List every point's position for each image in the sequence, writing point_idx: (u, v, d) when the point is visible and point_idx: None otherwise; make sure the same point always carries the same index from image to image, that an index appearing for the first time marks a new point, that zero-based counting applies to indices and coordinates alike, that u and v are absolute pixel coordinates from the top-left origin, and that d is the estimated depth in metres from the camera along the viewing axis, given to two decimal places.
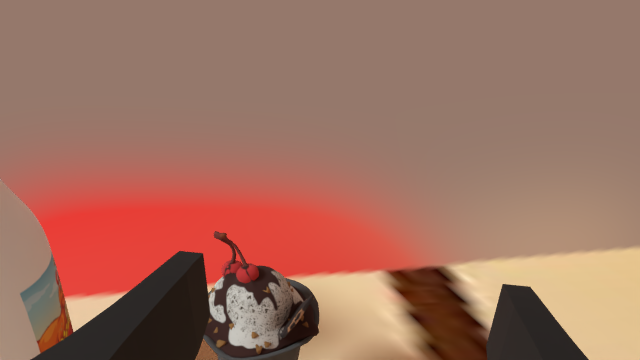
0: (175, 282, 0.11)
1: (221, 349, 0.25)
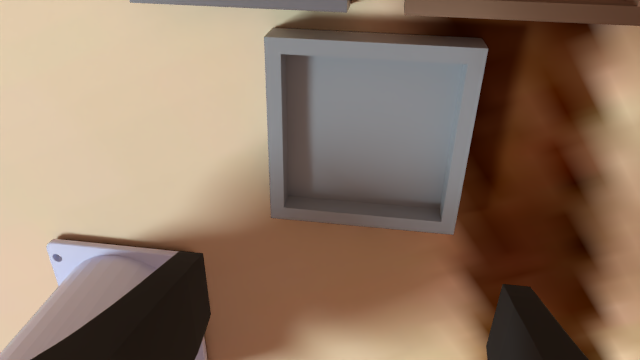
0: (175, 281, 0.11)
1: None
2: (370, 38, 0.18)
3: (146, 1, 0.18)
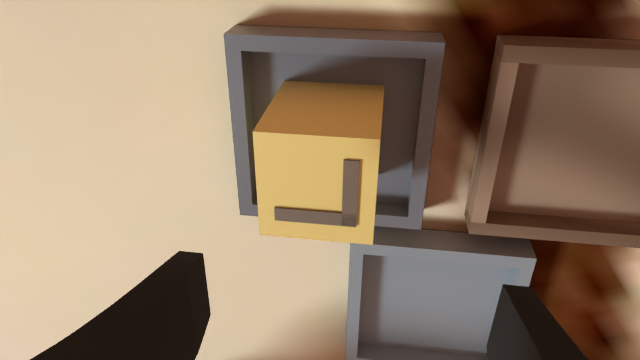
0: (175, 282, 0.11)
1: None
2: (437, 241, 0.22)
3: (254, 214, 0.22)
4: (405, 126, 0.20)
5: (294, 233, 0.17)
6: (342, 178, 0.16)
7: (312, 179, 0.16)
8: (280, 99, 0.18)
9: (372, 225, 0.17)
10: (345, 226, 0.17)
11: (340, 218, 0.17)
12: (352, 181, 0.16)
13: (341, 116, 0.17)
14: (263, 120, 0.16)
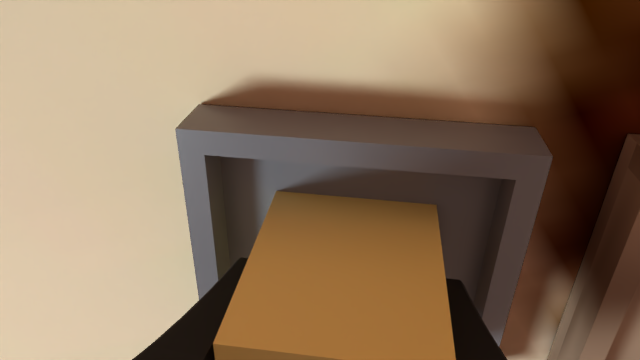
0: None
1: None
2: None
3: None
4: (465, 262, 0.13)
5: None
6: None
7: None
8: (268, 241, 0.11)
9: None
10: None
11: None
12: None
13: (375, 293, 0.09)
14: (236, 305, 0.09)
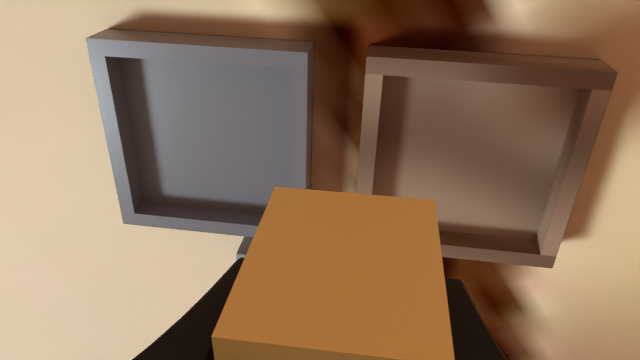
0: None
1: None
2: None
3: (137, 224, 0.21)
4: (284, 136, 0.20)
5: None
6: None
7: None
8: (267, 236, 0.11)
9: None
10: None
11: None
12: None
13: (374, 286, 0.09)
14: (234, 299, 0.09)
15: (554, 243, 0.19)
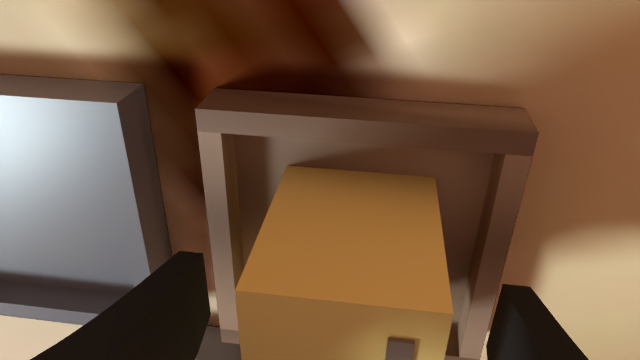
0: (175, 282, 0.11)
1: None
2: None
3: None
4: None
5: None
6: None
7: None
8: (281, 208, 0.12)
9: None
10: None
11: None
12: None
13: (379, 250, 0.10)
14: (254, 260, 0.10)
15: (475, 344, 0.15)
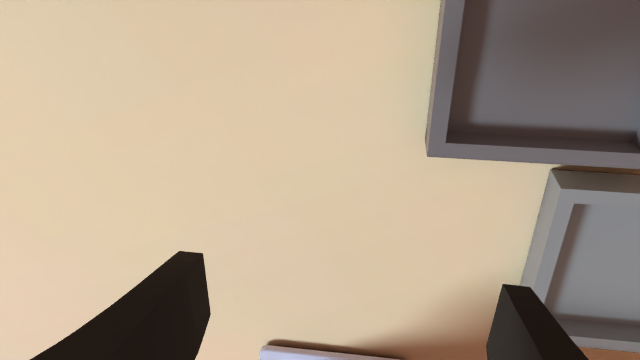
0: (175, 282, 0.10)
1: None
2: None
3: (444, 156, 0.18)
4: None
5: None
6: None
7: None
8: None
9: None
10: None
11: None
12: None
13: None
14: None
15: None
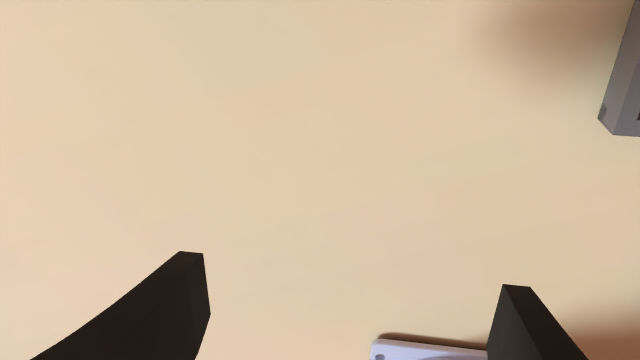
0: (175, 282, 0.11)
1: None
2: None
3: (632, 134, 0.17)
4: None
5: None
6: None
7: None
8: None
9: None
10: None
11: None
12: None
13: None
14: None
15: None
